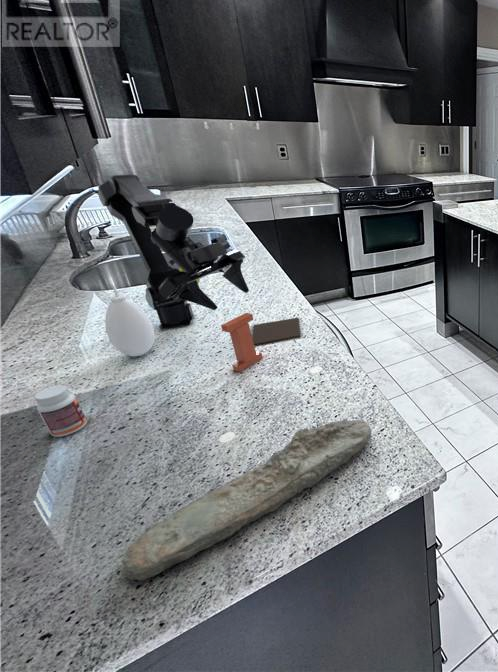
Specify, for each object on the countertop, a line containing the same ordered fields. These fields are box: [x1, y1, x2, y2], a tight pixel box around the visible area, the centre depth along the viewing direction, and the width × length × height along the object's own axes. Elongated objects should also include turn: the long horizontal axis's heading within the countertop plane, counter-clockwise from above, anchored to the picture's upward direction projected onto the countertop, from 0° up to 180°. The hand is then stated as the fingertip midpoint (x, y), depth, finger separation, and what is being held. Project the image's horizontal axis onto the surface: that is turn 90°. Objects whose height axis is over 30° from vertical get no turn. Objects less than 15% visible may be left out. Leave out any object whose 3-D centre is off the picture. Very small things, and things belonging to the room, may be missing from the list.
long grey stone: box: [121, 419, 372, 581], centre depth 64 cm, size 35×5×10 cm
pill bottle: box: [34, 384, 88, 438], centre depth 73 cm, size 5×5×8 cm
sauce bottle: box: [104, 285, 156, 357], centre depth 94 cm, size 8×8×18 cm
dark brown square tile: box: [252, 317, 302, 347], centre depth 109 cm, size 11×11×1 cm
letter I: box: [220, 312, 264, 373], centre depth 93 cm, size 2×6×12 cm, turn 163°
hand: (232, 300), depth 96 cm, fingers open, 9 cm apart
